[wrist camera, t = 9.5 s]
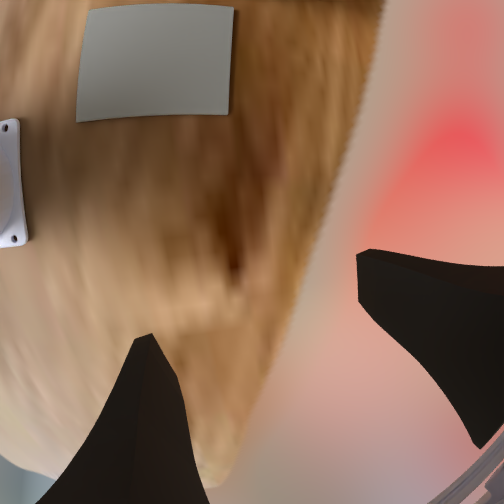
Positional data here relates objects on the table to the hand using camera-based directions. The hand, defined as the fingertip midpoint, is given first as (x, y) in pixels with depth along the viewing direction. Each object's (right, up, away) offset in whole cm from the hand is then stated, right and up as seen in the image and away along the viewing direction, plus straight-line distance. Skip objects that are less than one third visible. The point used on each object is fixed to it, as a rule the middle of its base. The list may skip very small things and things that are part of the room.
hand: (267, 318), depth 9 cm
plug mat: (-6, +13, +4) cm, 15 cm away
